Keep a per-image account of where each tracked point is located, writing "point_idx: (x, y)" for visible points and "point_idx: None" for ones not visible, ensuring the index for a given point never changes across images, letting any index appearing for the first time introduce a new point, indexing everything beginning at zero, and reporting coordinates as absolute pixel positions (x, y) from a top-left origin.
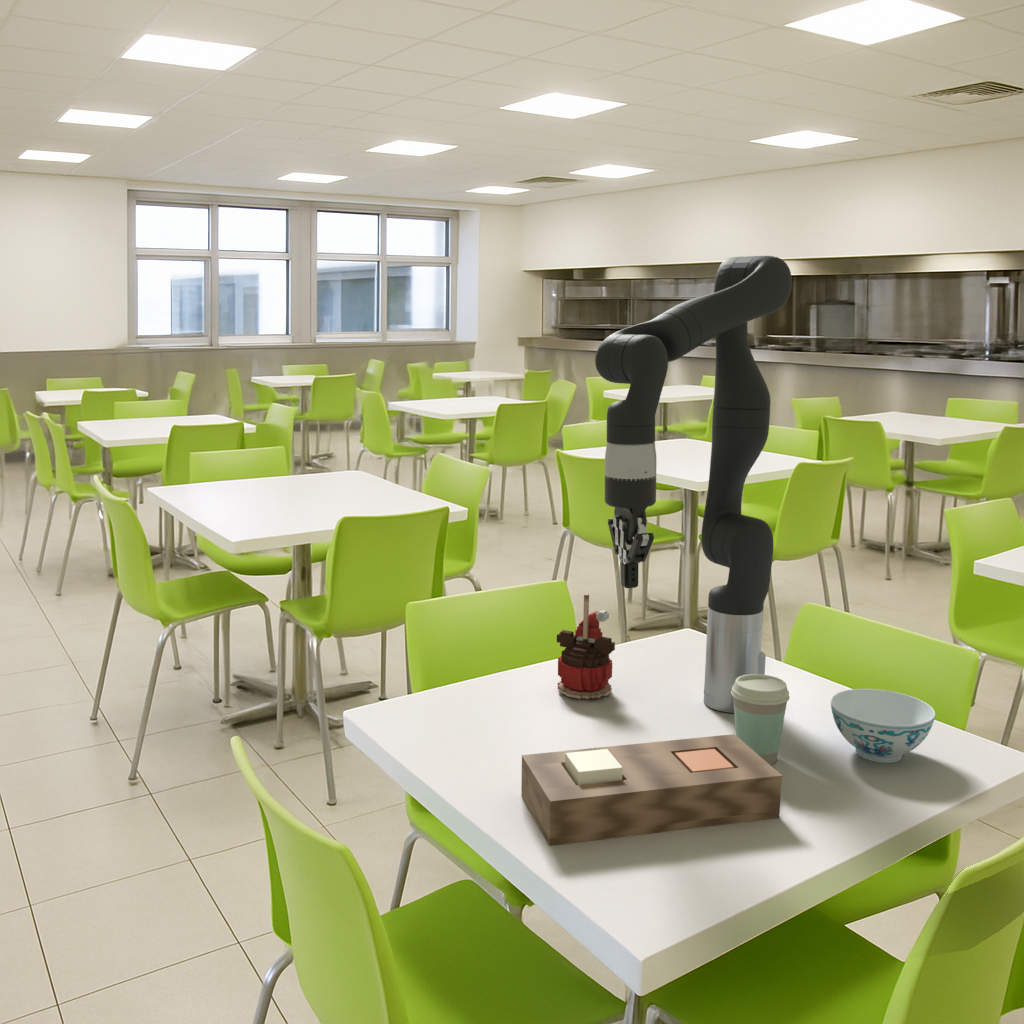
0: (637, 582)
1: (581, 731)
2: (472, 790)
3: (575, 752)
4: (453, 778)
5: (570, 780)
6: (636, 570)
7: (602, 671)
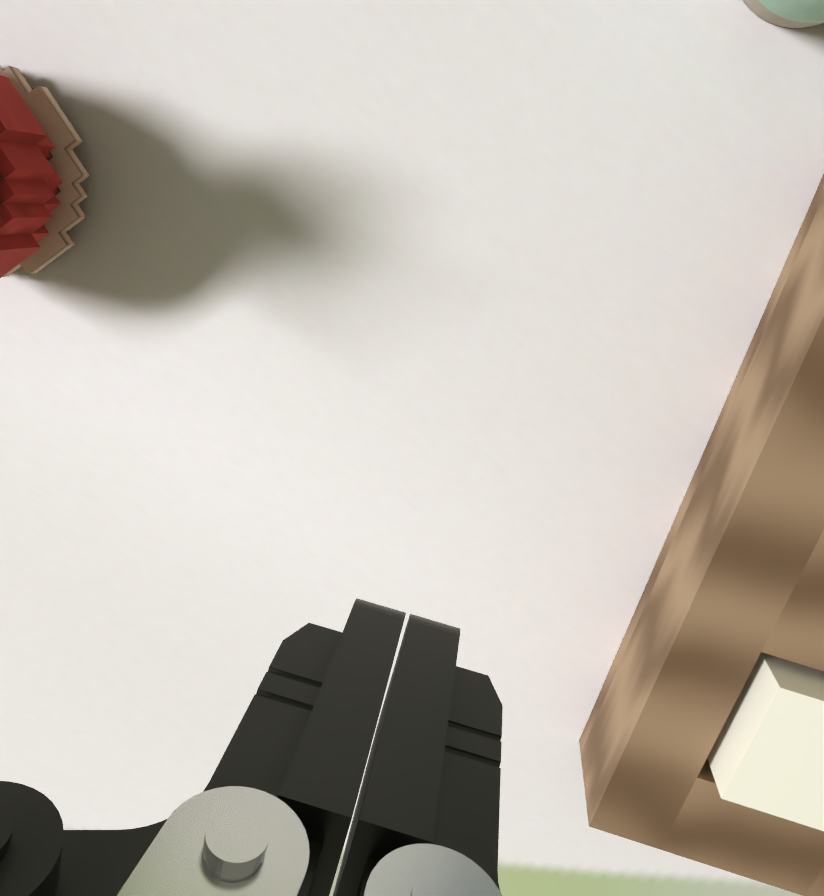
0: (453, 653)
1: (302, 384)
2: None
3: (736, 773)
4: None
5: None
6: (491, 830)
7: (10, 141)
